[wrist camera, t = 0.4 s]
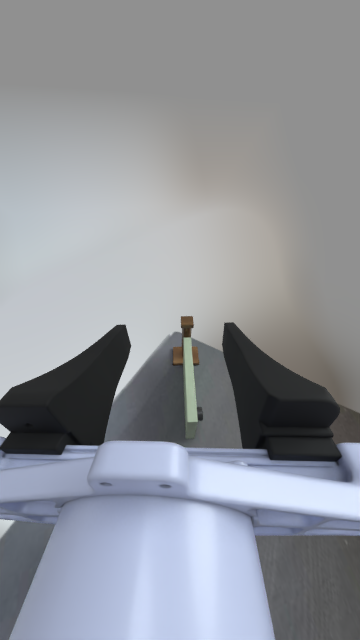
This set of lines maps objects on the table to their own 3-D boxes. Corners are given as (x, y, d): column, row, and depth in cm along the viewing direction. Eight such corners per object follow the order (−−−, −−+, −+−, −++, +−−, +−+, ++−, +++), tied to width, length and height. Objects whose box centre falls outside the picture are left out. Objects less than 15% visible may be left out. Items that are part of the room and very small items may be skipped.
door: (201, 438, 25) (206, 421, 21) (185, 438, 25) (187, 422, 21) (194, 361, 35) (196, 337, 30) (182, 361, 35) (183, 337, 30)
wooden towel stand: (198, 364, 35) (203, 329, 28) (173, 365, 35) (171, 329, 28) (196, 348, 38) (201, 312, 31) (173, 348, 38) (172, 312, 31)
